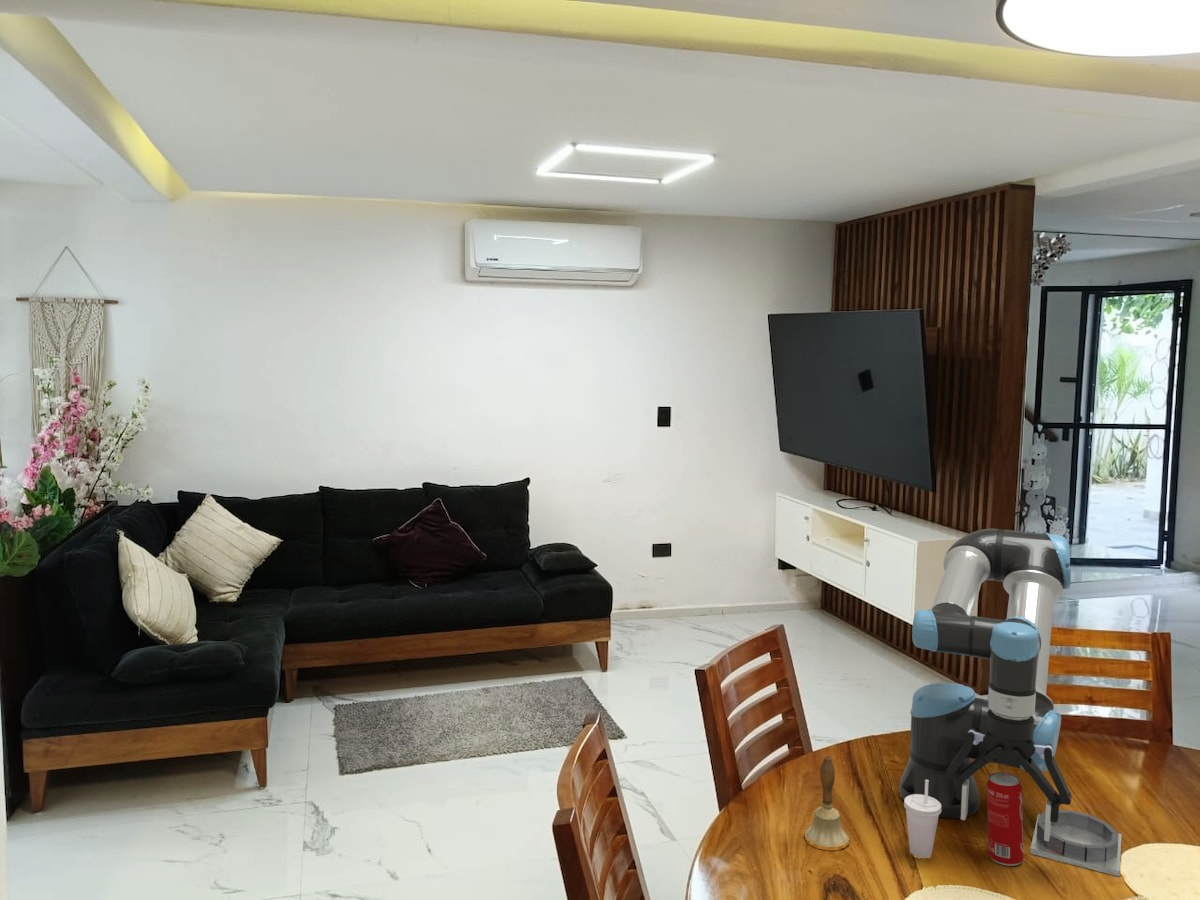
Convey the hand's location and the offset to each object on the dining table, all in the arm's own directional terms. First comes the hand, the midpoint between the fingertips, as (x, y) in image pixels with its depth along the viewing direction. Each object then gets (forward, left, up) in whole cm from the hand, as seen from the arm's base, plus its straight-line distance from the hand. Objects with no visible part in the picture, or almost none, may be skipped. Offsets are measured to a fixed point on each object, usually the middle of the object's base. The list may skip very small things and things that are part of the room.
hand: (1004, 827), depth 161 cm
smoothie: (-13, -6, -6) cm, 16 cm away
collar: (+11, +11, -6) cm, 17 cm away
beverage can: (0, 0, -6) cm, 6 cm away
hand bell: (-29, -10, -6) cm, 31 cm away
